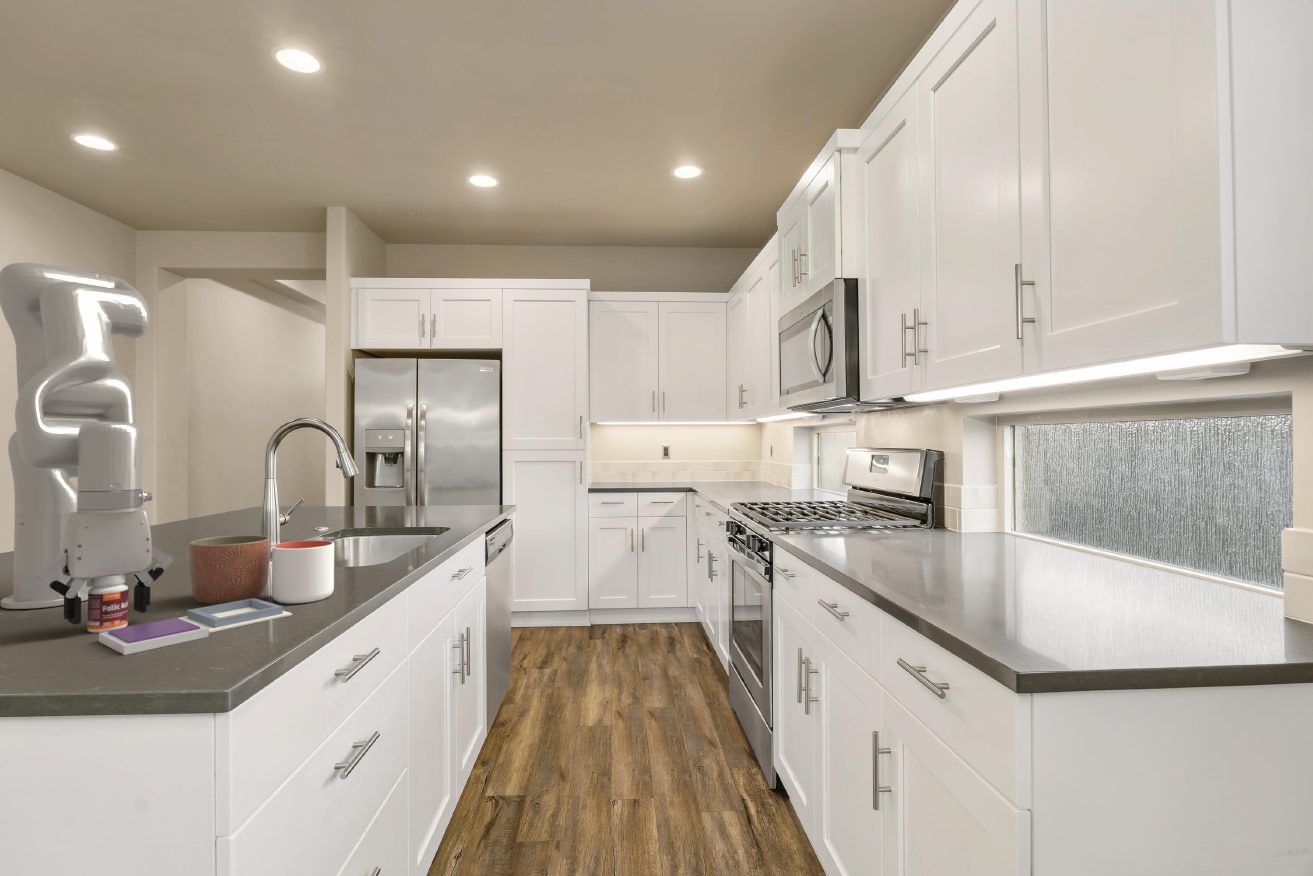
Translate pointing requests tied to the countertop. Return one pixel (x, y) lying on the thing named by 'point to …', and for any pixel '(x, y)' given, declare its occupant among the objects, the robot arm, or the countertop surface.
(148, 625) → the ink pad
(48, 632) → the countertop surface
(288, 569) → the cup
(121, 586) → the pill bottle
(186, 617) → the square tray
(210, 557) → the planter
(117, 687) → the countertop surface
